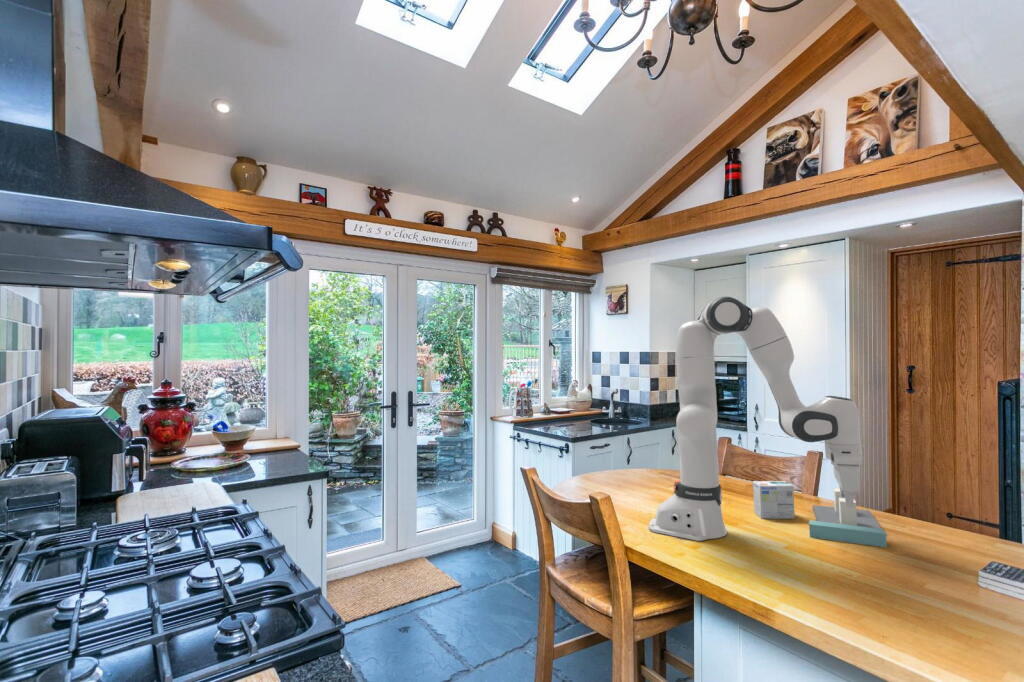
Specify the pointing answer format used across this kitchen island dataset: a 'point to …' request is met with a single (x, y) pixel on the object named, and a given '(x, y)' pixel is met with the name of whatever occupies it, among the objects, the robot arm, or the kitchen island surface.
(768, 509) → the light bulb box
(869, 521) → the board
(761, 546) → the kitchen island surface
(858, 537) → the beam
